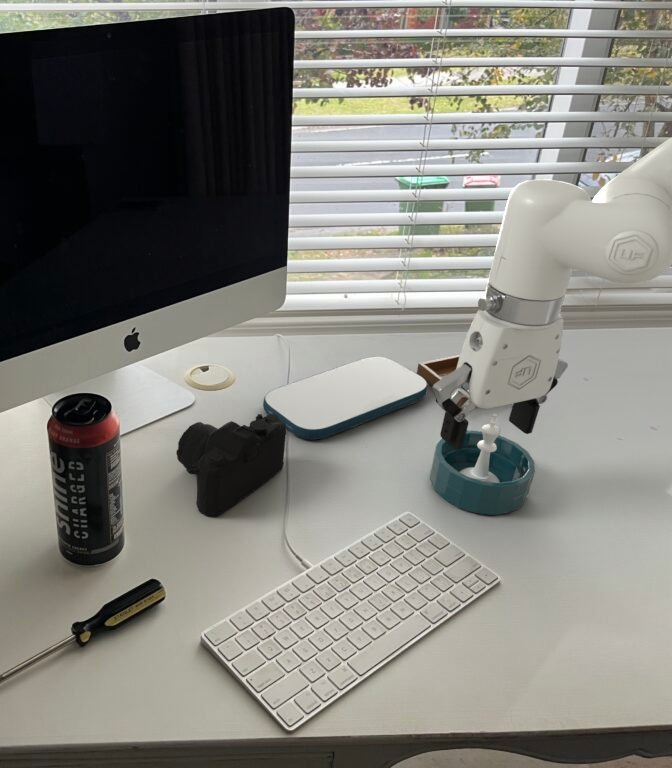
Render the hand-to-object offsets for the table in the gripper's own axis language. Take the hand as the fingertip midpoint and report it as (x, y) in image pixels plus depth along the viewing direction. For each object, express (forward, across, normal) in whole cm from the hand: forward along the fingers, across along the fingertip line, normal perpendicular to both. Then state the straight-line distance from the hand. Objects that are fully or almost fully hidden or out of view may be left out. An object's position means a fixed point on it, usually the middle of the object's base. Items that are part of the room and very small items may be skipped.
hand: (485, 435), depth 92 cm
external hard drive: (+8, -5, +22) cm, 23 cm away
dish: (+7, 0, 0) cm, 8 cm away
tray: (+7, +14, +20) cm, 25 cm away
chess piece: (+7, 0, 0) cm, 7 cm away
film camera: (+8, -28, +12) cm, 31 cm away
